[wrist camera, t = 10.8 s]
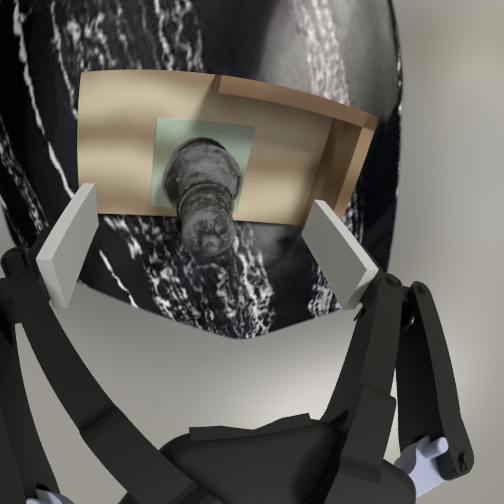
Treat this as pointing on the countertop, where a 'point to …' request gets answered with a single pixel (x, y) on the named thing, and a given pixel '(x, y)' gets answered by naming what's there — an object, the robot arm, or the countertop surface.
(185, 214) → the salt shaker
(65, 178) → the countertop surface
